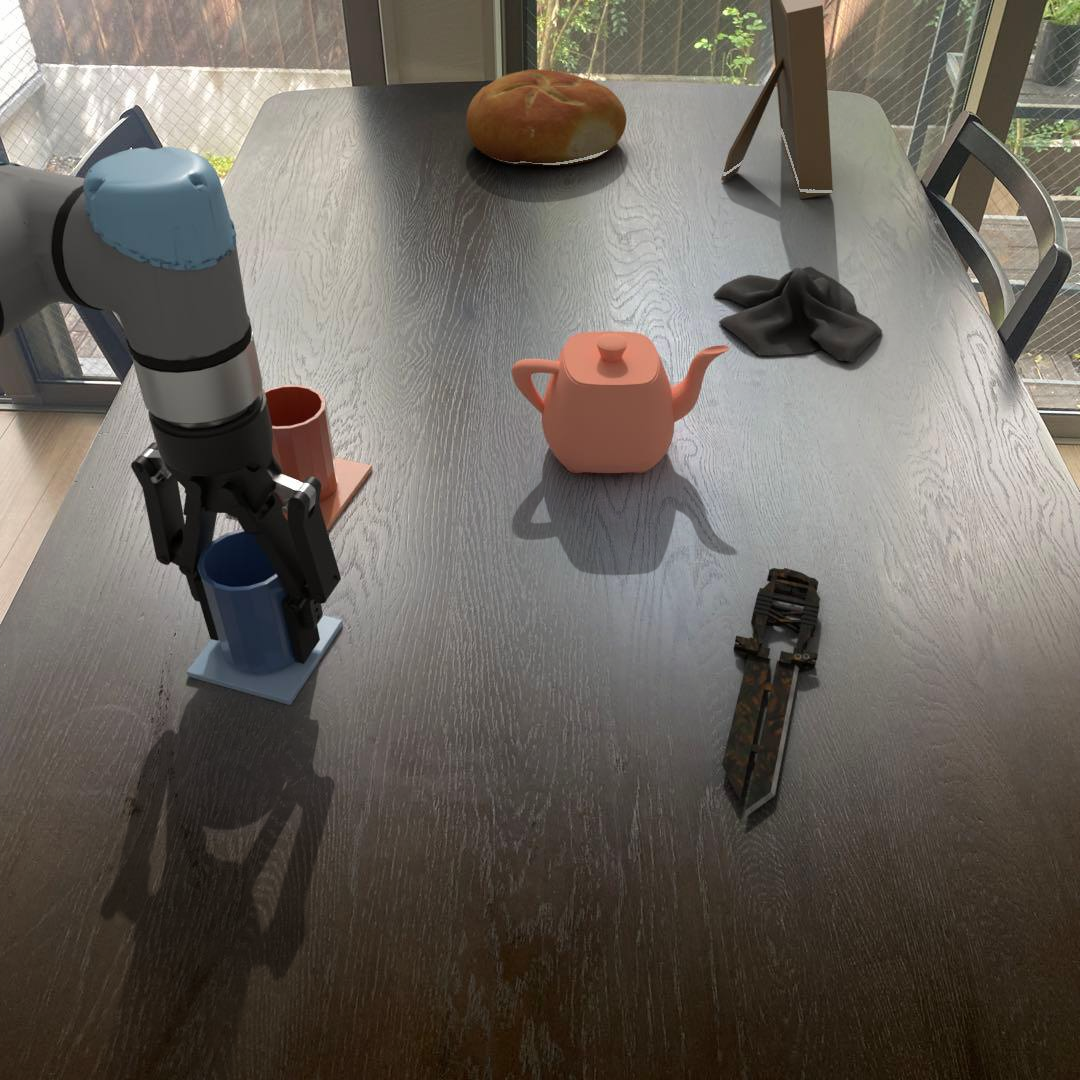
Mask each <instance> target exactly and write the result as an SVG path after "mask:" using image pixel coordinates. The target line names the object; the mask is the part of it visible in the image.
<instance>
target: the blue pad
mask: <svg viewBox="0 0 1080 1080" xmlns="http://www.w3.org/2000/svg"><path fill="white" fill-rule="evenodd" d="M343 625H344V622H343V619H341V618H337V617H333V616H328V615H325V614H323V616H322V618H321V620H320V621H319V623H318V624H317V627H318V632H319V637H320V641H319V642H318V644H317V645H316V647H315V648H314V650H313V651H312V653H311V654H310V656H309V657H308V659H307V660H306V662H305V663H304V664H302V663H298V662H295V661H294V662H293V663H291V664H290V665H288V666H286V667H284V668H282V669H279V670H276V671H273V672H268V673H260V674H254V673H247V672H243V671H240V670H238V669H236V668H234V667H232V666H231V665H230V664H229V663H228V662H227V661H226V660H225V658H224V656H223V654H222V650H221V647H220V645H219V641H216V640H212V639H210V641H209V642H208V643H207V644H206V645H205V647H204V648H203V649H202V651H201V652H200V653H199V655H198V656H197V657H196V659H195V660H194V661H193V663H192V664H191V665H190V666H189V668H188V669H187V670H186V675H187V677H188V678H192V679H195V680H199V681H202V682H205V683H209V684H214V685H217V686H220V687H223V688H227V689H231V690H235V691H238V692H241V693H245V694H249V695H252V696H255V697H259V698H262V699H267V700H270V701H273V702H277V703H281V704H285V705H287V706H291V705H292V704H293V702H294V701H295V699H296V697H297V696H298V694H299V693H300V691H301V690H302V689H303V687H304V686H305V684H306V682H307V681H308V679H309V678H310V676H311V675H312V673H313V672H314V670H315V668H316V667H317V666H318V664H319V662H320V661H321V659H323V655H325V653H326V652H327V650H328V648H329V647H330V646H331V644H332V642H333V641H334V640H335V638H336V636H337V635H338V633H339V632H340V630H341V628H342V627H343Z"/></svg>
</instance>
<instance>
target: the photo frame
mask: <svg viewBox="0 0 1080 1080" xmlns="http://www.w3.org/2000/svg"><path fill="white" fill-rule="evenodd" d="M769 6H770V7H769V8H770V17H771V18H770V20H771V33H772V43H773V54H774V56H773V57H774V68H773V69H772V72H771V74H770V76H769V77H768V79H767V81H766V83H765V84H764V87H763V88H762V90H761V92H760V93H759V95H758V97H757V99H756V101H755V103H754V105H753V107H752V109H751V111H750V112H749V114H748V116H747V117H746V119H745V121H744V123H743V125H742V127H741V129H740V130H739V132H738V134H737V136H736V138H735V140H734V142H733V144H732V145H731V147H730V149H729V150H728V154H727V157H726V161H725V164H724V169H723V172H727V171H729V170H730V169H732V168H733V167H734V166H736V165H737V164H739V163H740V162H741V161H742V160H743V161H744V159H745V157H746V155H747V152H748V149H749V147H750V145H751V142H752V140H753V138H754V135H755V134H756V131H757V129H758V126H759V125H760V122H761V119H762V117H763V115H764V113H765V111H766V108H767V106H768V103H769V101H770V99H771V96H772V94H773V93H774V90H775V88H776V90H777V103H778V116H779V126H781V128H782V129H783V132H784V135H785V139H786V142H787V145H788V149H789V152H790V155H791V158H792V161H793V164H794V168H795V171H796V174H797V177H798V180H799V187H798V184H797V181H796V178H795V174H794V171H793V168H792V165H791V162H790V159H789V156H788V153H787V150H786V147H785V143H784V140H783V137H782V135H781V134H780V140H781V141H782V145H783V149H784V151H785V155H786V157H787V161H788V164H789V167H790V170H791V173H792V176H793V180H794V182H795V186H796V189H797V193H798V195H799V198H800V200H804V199H810V198H815V197H820V196H825V195H830V194H832V193H806V192H800V190H799V188H800V189H808V190H809V189H812V190H813V189H815V190H832V191H833V192H834V187H833V170H832V169H833V168H832V152H831V151H832V149H831V135H830V134H831V133H830V132H831V129H830V116H829V115H830V114H829V113H830V112H829V97H828V96H829V95H828V93H829V92H828V79H827V78H828V75H827V59H826V40H825V21H824V20H825V19H824V5H823V3H822V0H769ZM781 128H780V129H781ZM743 161H742V162H743ZM741 166H742V164H741V165H740V166H739V167H737V168H736V169H734V170H733V171H732V172H730V173H729V174H727V175H726V176H723V174H722V177H721V179H720V180H721V182H725V181H727V180H728V179H729V178H731V177H732V176H734V175H735V174H737V173H738V172H739V171H740V169H741Z"/></svg>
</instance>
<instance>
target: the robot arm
mask: <svg viewBox="0 0 1080 1080" xmlns="http://www.w3.org/2000/svg"><path fill="white" fill-rule="evenodd" d="M238 253H239V252H238V247H237V231H236V227H235V223H234V221H233V219H232V218H231V216H230V212H229V208H228V204H227V201H226V196H225V193H224V190H223V186H222V182H221V179H220V176H219V174H218V172H217V170H216V169H215V167H214V166H213V165H212V164H211V162H210V161H209V160H208V159H207V158H205V157H203V155H200V154H199V153H196V152H194V151H192V150H188V149H184V148H180V147H173V146H162V147H159V148H149V147H137V148H131V149H126V150H122V151H119V152H116V153H113V154H110V155H107V156H105V157H104V158H102V159H100V160H98V161H97V162H96V163H94V164H93V165H91V167H90V168H89V169H88V170H87V172H86V174H85V177H80V176H74V175H69V174H64V173H60V172H59V173H58V172H54V171H51V170H44V169H39V168H33V167H29V166H27V165H24V164H23V165H22V164H20V163H16V162H8V163H6V162H4V161H3V162H2V161H0V339H1V338H3V337H4V336H6V335H7V334H9V333H10V332H11V331H14V330H15V329H16V328H17V327H19V326H20V325H22V324H24V323H25V322H26V321H28V320H29V319H31V318H32V317H34V316H35V315H36V314H38V313H39V312H41V311H42V310H43V309H45V308H47V307H48V306H49V305H51V304H55V303H63V304H68V305H73V306H78V307H84V308H87V309H92V310H96V311H97V310H98V311H108V312H112V313H114V314H117V316H118V317H119V320H120V323H121V327H122V329H123V332H124V336H125V340H126V343H127V347H128V351H129V354H130V356H131V359H132V363H133V366H134V370H135V374H136V378H137V382H138V385H139V389H140V392H141V397H142V400H143V403H144V406H145V408H146V410H148V418H149V422H150V425H151V426H150V427H151V429H152V433H153V436H154V439H155V441H153V442H151V443H150V444H149V445H148V447H146V448H145V449H144V450H143V451H142V452H141V453H140V454H139V455H138V456H137V457H136V458H135V459H134V460H133V461H132V462H131V464H130V467H131V470H132V472H133V473H134V475H135V478H136V479H137V481H138V483H139V484H140V487H141V488H142V492H143V498H144V502H145V508H146V514H147V517H148V524H149V527H150V532H151V537H152V543H153V549H154V554H155V558H156V561H158V562H159V563H160V564H162V565H165V566H169V565H170V564H171V563H172V564H174V565H176V566H178V570H179V571H180V573H181V574H182V575H184V576H185V578H186V582H187V585H188V588H189V590H190V594H191V597H192V598H193V600H194V601H195V602H198V603H199V605H200V608H201V612H202V615H203V618H204V623H205V625H206V629H207V633H208V636H209V639H210V640H211V639H212V640H216V641H218V638H217V634H216V631H215V627H214V624H213V620H212V617H211V613H210V610H209V606H208V603H207V599H206V596H205V592H204V589H203V585H202V582H201V578H200V575H199V571H198V568H197V566H198V562H199V558H200V554H201V553H202V552H203V551H204V549H205V548H206V547H207V546H208V545H209V543H211V542H212V541H214V540H213V539H214V535H215V528H216V524H217V523H216V522H217V516H218V514H226V515H227V516H230V517H233V518H234V519H236V520H237V522H238V524H239V525H240V527H241V529H243V530H244V532H245V533H247V534H252V535H253V536H254V538H255V539H256V541H257V543H258V544H259V546H260V548H261V549H262V551H263V553H264V554H265V556H266V558H267V559H268V561H269V563H270V564H271V566H272V568H273V569H274V571H275V573H276V574H277V576H278V578H279V579H280V581H281V583H282V584H283V586H284V588H285V589H286V591H287V593H288V595H287V596H286V598H285V599H284V600H283V602H282V604H283V609H284V613H285V618H286V622H287V627H288V631H289V636H290V640H291V645H292V649H293V654H294V658H295V662H298V663H302V664H304V663H305V662H306V660H307V659H308V657H309V656H310V654H311V653H312V651H313V650H314V648H315V647H316V645H317V644H318V642H319V641H320V637H319V632H318V627H317V624H318V623H319V621H320V620H321V618H322V616H323V615H324V613H323V606H322V604H325V603H326V602H327V600H328V599H329V598H330V596H331V594H332V593H333V592H334V591H335V589H336V587H337V586H338V585H339V583H340V581H341V580H342V578H341V573H340V569H339V567H338V562H337V559H336V556H335V552H334V548H333V546H332V545H333V544H332V542H331V539H330V536H329V531H328V532H327V528H326V525H325V522H324V518H323V515H322V511H321V508H320V504H319V502H320V494H321V483H320V481H319V480H318V479H316V478H315V477H312V476H310V477H307V478H306V479H305V480H304V482H303V483H302V482H300V481H297V480H295V479H293V478H290V477H288V476H286V475H283V472H282V469H281V467H280V465H279V464H278V463H277V461H276V460H275V458H274V456H273V453H272V446H273V429H272V424H271V419H270V414H269V409H268V404H267V399H266V394H265V392H264V391H265V389H264V388H263V377H262V372H261V367H260V362H259V357H258V351H257V346H256V343H255V338H254V333H253V329H252V325H251V324H252V323H251V318H250V316H249V313H248V310H247V305H246V298H245V292H244V291H245V290H244V285H243V278H242V271H241V266H240V259H239V254H238ZM179 485H181V486H182V487H183V489H184V494H185V498H184V505H183V504H182V498H181V492H180V486H179ZM279 496H280V497H281V498H282V500H281V499H280V497H279ZM282 502H283V503H282ZM283 504H284V505H283ZM282 511H283V512H284V513H287V519H288V521H287V519H286V518H285V516H284V514H283V512H282ZM184 516H185V517H184Z"/></svg>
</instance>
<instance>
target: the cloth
mask: <svg viewBox="0 0 1080 1080" xmlns="http://www.w3.org/2000/svg"><path fill="white" fill-rule="evenodd" d="M712 296H714V297H715V298H721V299H727V300H731V301H734V303H737V304H739V305H742V306H744V307H746V308H747V309H744V310H742V311H739V312H736V313H733V314H731V315H727V316H725V317H723V318H722V319H720V320H719V321H718V323H719V324H720V325H722V326H723V327H724V328H725V329H727V330H728V331H730V332H731V333H732V334H733V335H735V336H736V337H737V338H738V339H740V340H741V341H742V342H743V343H745V344H746V345H747V347H749V348H750V350H752V351H753V352H754V353H755V354H756V355H758V356H761V357H785V356H787V357H788V356H797V355H805V354H810V353H814V352H817V351H819V350H821V349H823V350H824V351H825V352H827V353H829V354H830V355H832V356H833V357H834V358H835V359H836V360H838V361H842V362H850V363H853V362H854V361H855V359H856V358H857V357H858V356H859V355H860V354H861V353H862V352H863V351H864V350H865V349H866V348H867V347H868V346H869V345H870V344H871V342H873V341H874V340H875V339H876V338H877V337H879V336H880V335H881V334H882V333H883V329H882V328H881V327H880V326H879V325H878V324H877V322H875V321H874V320H872V319H871V318H869V317H868V316H866V315H864V314H862V313H860V312H859V311H858V309H857V305H856V301H855V300H856V299H855V296H854V294H852V292H851V291H850V290H849V289H848V288H847V287H846V286H844V285H843V284H842V283H840V282H838V281H837V280H836V279H834V278H832V277H831V276H829V275H826V274H825V273H823V272H821V271H820V270H817V269H816V268H814V267H812V266H806V267H804V268H800V267H797V266H796V267H794V268H793V269H792V270H790V271H789V272H787V273H785V274H784V275H782V277H780V279H776V278H772V277H767V276H762V275H758V274H757V275H755V274H747V275H742V276H740V277H736V278H734V279H732V280H730V281H728V282H726V283H724V284H722V285H721V286H720V287H719V288H718V289H717V290H716V291H715V292H714V293H713V295H712Z"/></svg>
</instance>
